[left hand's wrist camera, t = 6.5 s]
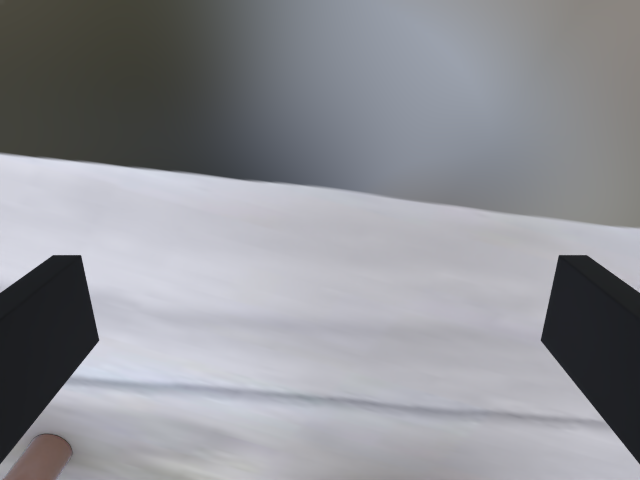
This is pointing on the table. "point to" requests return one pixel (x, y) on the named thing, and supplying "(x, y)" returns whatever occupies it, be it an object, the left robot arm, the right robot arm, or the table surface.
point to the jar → (41, 459)
